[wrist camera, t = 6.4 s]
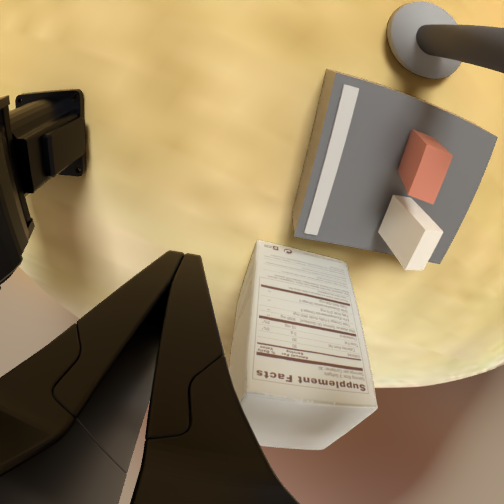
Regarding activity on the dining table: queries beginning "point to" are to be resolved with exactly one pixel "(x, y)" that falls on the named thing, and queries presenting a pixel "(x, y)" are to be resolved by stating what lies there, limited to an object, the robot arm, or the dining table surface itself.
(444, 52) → the stand
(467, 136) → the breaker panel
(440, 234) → the cream flat brick
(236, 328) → the supplement box
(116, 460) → the robot arm
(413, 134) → the terracotta brick
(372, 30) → the dining table surface
